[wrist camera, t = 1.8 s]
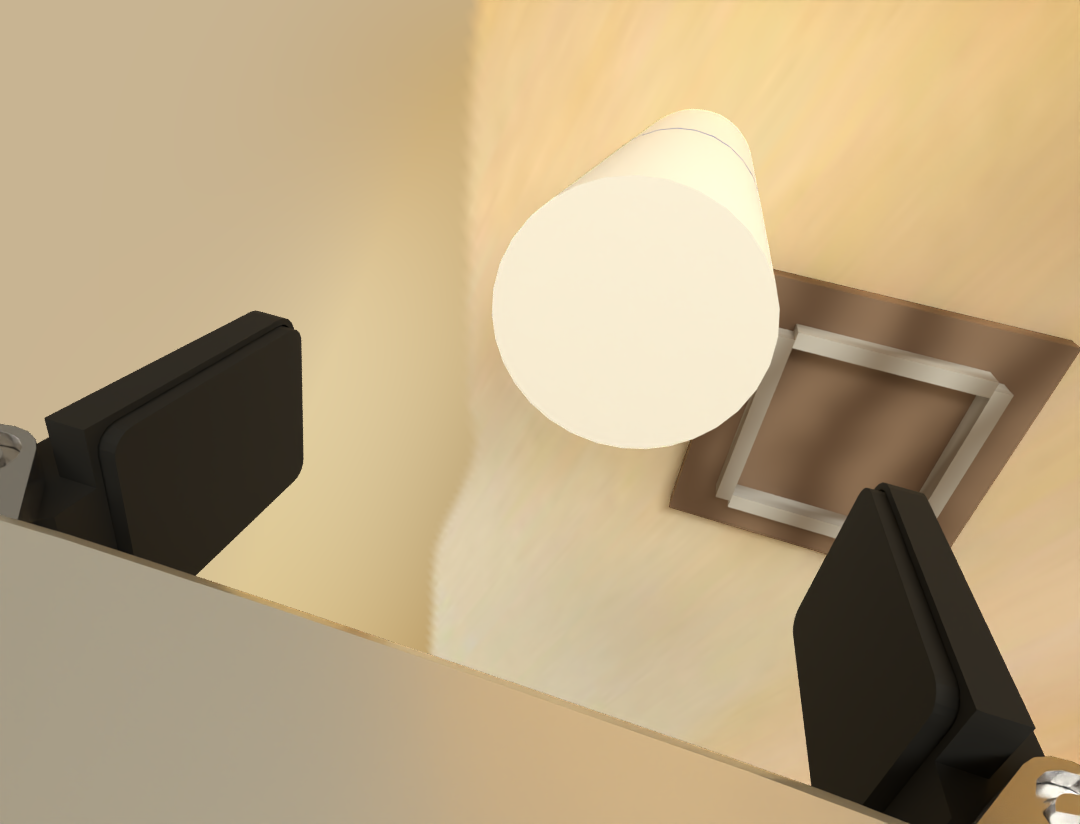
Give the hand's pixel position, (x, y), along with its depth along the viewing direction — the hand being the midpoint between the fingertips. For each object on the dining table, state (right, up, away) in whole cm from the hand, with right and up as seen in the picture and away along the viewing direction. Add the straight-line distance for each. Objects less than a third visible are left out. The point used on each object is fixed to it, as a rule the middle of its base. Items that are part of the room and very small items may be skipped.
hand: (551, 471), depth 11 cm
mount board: (+20, 0, +31) cm, 37 cm away
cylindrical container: (+8, +15, +27) cm, 32 cm away
